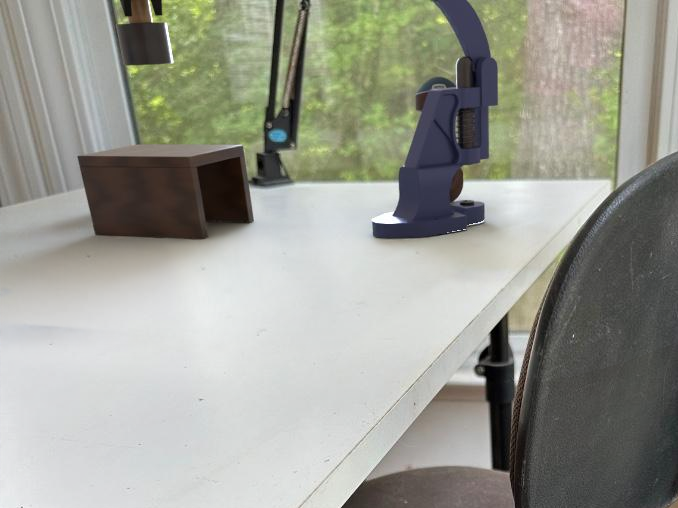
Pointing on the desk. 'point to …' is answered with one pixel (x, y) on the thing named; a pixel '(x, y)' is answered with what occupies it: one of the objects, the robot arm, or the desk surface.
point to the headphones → (419, 103)
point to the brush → (144, 38)
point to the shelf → (166, 189)
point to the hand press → (447, 139)
